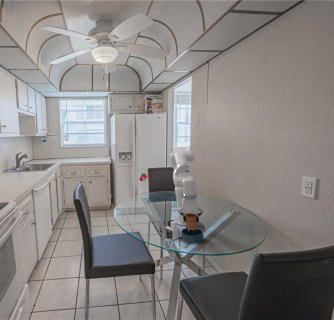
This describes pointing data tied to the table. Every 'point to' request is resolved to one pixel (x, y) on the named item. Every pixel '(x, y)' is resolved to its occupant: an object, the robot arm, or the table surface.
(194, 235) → the dark teal bowl
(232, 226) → the table surface
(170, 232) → the medicine bottle
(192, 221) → the orange mug
